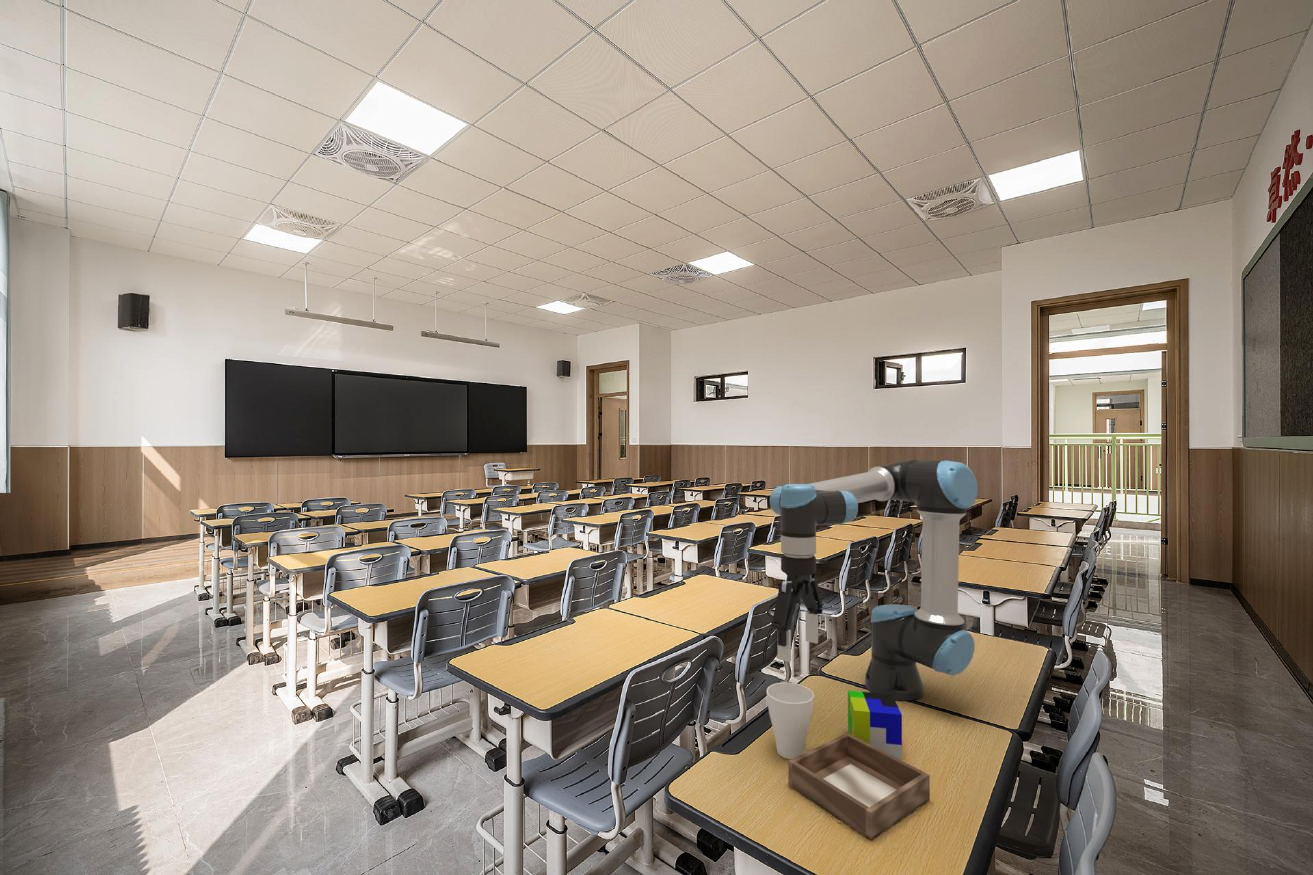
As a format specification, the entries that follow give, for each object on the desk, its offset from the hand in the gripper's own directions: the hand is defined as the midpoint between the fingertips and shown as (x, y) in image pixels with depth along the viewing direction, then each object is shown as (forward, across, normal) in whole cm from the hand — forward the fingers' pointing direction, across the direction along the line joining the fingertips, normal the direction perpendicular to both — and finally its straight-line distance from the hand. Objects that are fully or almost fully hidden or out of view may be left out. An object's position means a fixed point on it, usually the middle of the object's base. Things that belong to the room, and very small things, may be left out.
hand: (798, 650), depth 122 cm
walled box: (+24, +3, +14) cm, 28 cm away
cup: (+24, -1, -3) cm, 24 cm away
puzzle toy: (+24, -16, +11) cm, 31 cm away
